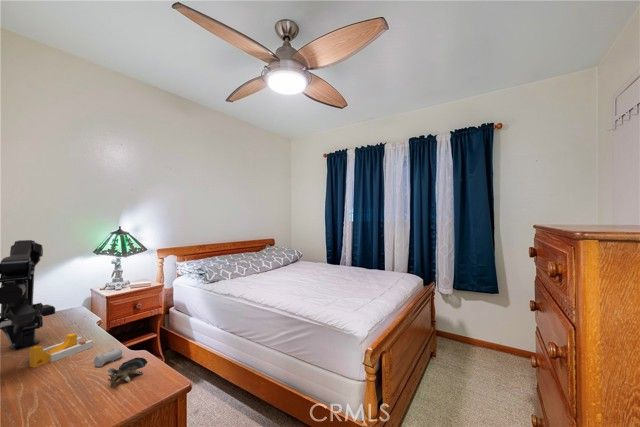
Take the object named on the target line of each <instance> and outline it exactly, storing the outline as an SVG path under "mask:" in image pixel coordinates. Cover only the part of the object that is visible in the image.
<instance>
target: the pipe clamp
mask: <svg viewBox="0 0 640 427" xmlns="http://www.w3.org/2000/svg"><path fill="white" fill-rule="evenodd" d="M77 336H78V334H77V333H70V334H67V335H65V340H64V341H63V342H64V343H63V344H60V345H58V346H56V347H55V348H54V349H52V350H50V351H48V353H45V352H44V351H43V349H44V348H43V346H42V345H39V344H36V345H34V346H32V347H31V346H30V347H29V368H30V367H31V368H37V367H39V366H43V365H45V364H47V363H49V362H50V354H53V353H56V352H58V351H61V350H64V349H67V348H70V347H72V346H75V345H77Z"/></svg>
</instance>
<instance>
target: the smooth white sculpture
mask: <svg viewBox="0 0 640 427" xmlns="http://www.w3.org/2000/svg"><path fill="white" fill-rule="evenodd" d="M122 355H123V350H122V349H121V348H115V349H114V348H112V349H111V350H109V351H107V352H105V353H104V354H102V353H98V354H97V355H96V356H95V357H94V359H93V364H94V366H96V367H98V368H101V367H103V366H104V365H105V364H106V363H108V362H115V361H116V360H117V359H119V358H121V357H122ZM114 360H115V361H114Z"/></svg>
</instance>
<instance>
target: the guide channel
mask: <svg viewBox="0 0 640 427" xmlns="http://www.w3.org/2000/svg"><path fill="white" fill-rule="evenodd" d="M93 342H94V340H91V339H90V340H87V341H86V340H84V339H83V337H82V336H78V337H77V345H75V346H72V347H70V348H67V349H64V350H61V351H58V352H56V353H53V354H50V362H51V363H53V362H58V361H60V360H62V359H65V358H68V357H70V356H72V355H76V354H78V353H80V352H83V351H85V350H89V349H91V348H93V346H94V343H93ZM63 343H64V341H63V342H60V343H57V344H54V345H51V346H48V347H45V348H42V349H43V351H44V352H45V353H48V351H50V350H52V349H54V348H55V347H56V346H58V345H60V344H63Z"/></svg>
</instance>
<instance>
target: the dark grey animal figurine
mask: <svg viewBox="0 0 640 427" xmlns="http://www.w3.org/2000/svg"><path fill="white" fill-rule="evenodd" d="M147 363H148V361H147V359H146V358H144V357H140V356H139V357H134V358H132V359H128V360H127V361H124V362H123V363H122V364H120V366H119V367H118V369H116V368H114V367H111V368H109V369H107V373H109V374H107V376H109V378H108V379H107V381H109V382H110V387H111V388H112V387H113V386H114V385H116V383H117V381H119V380H120V379H122V380H123V381H124V380H125V381H126V382H127V383H128V384H130V383H131V378H130V377H129V375H143V374H144V372H143V371H141V372H140V370H139V369H143V368H144V367H146V365H147ZM138 370H139V371H138ZM142 372H143V373H142Z"/></svg>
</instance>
